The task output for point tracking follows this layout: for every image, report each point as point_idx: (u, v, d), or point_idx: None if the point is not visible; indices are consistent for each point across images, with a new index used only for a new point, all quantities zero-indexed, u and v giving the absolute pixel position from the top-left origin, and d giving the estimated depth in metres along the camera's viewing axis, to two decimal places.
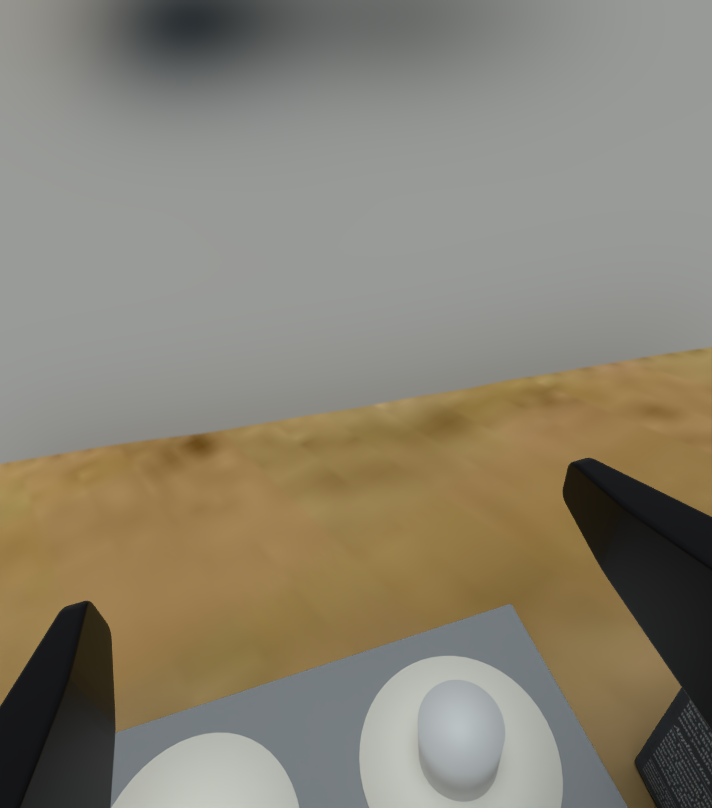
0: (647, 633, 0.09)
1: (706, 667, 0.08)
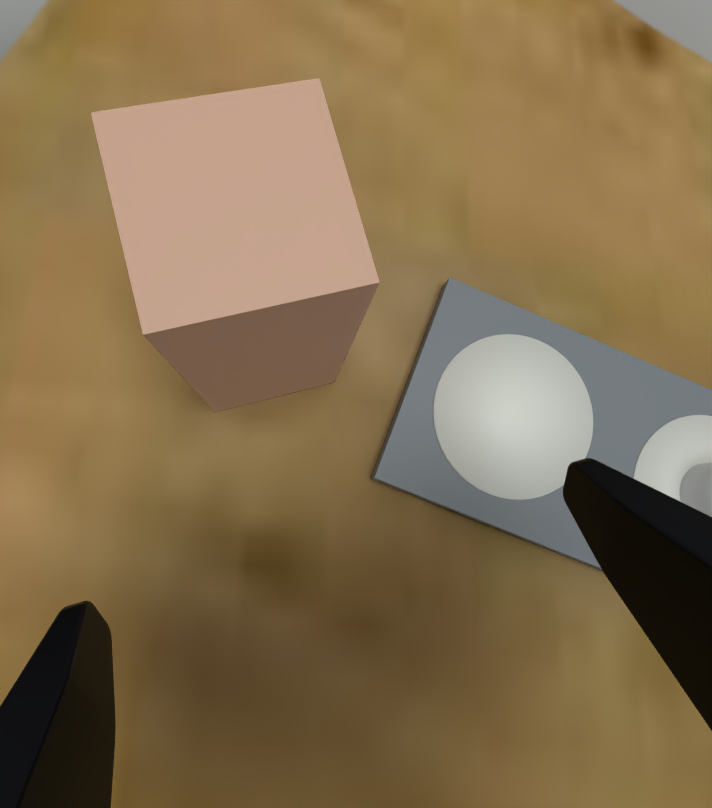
0: (647, 633, 0.09)
1: (706, 667, 0.08)
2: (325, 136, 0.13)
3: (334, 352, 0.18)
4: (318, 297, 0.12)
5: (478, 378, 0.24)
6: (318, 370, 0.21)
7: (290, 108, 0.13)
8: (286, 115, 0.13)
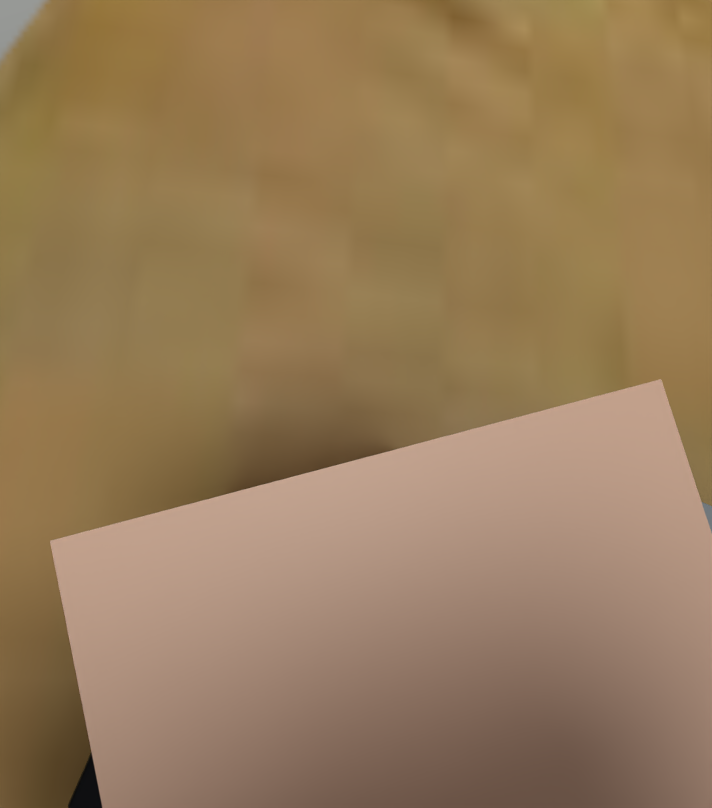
0: None
1: None
2: (690, 551, 0.05)
3: None
4: None
5: None
6: None
7: (598, 475, 0.05)
8: (590, 499, 0.05)
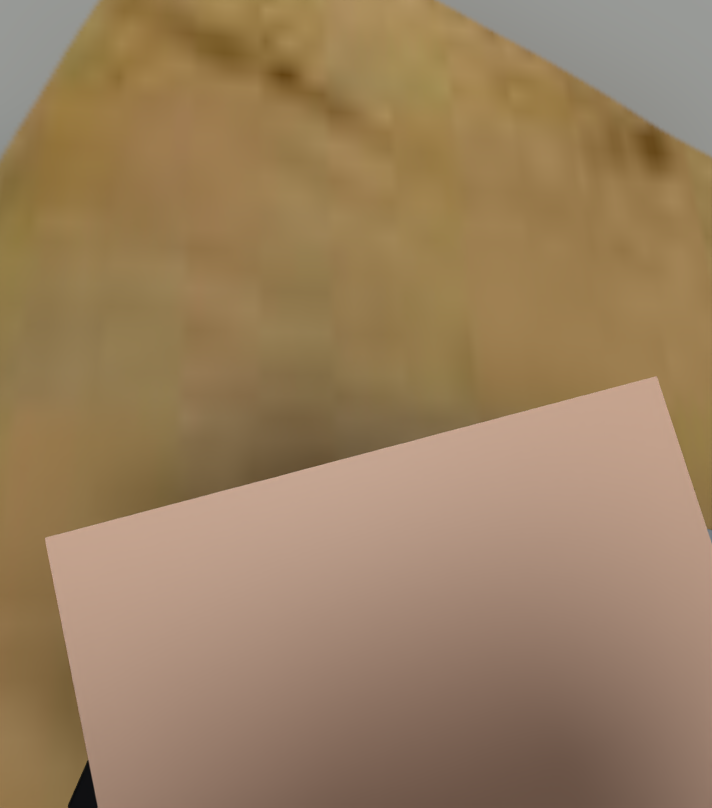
0: None
1: None
2: (685, 548, 0.05)
3: None
4: None
5: None
6: None
7: (593, 472, 0.05)
8: (584, 497, 0.05)
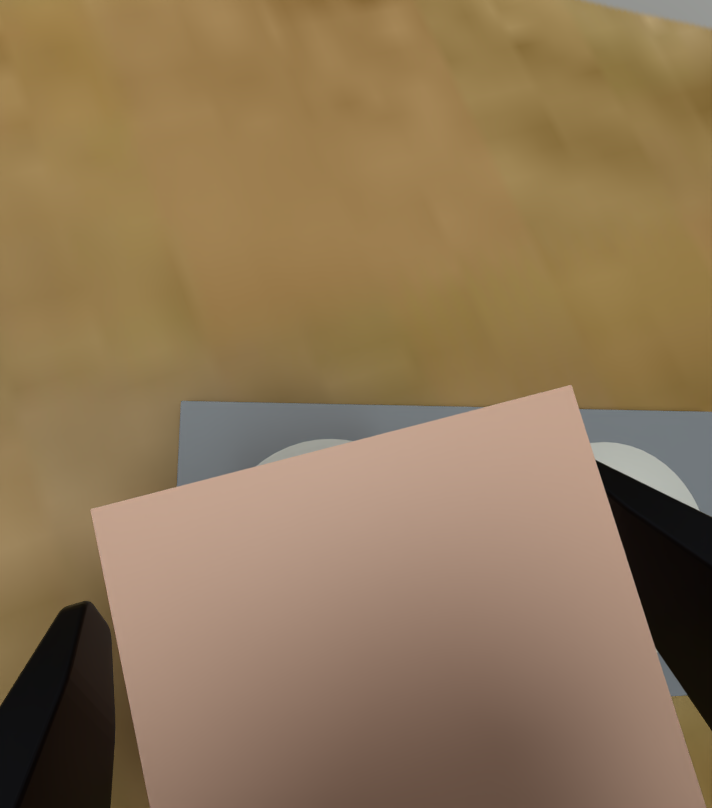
0: None
1: (706, 667, 0.08)
2: (592, 521, 0.06)
3: None
4: None
5: None
6: None
7: (518, 461, 0.06)
8: (510, 479, 0.06)
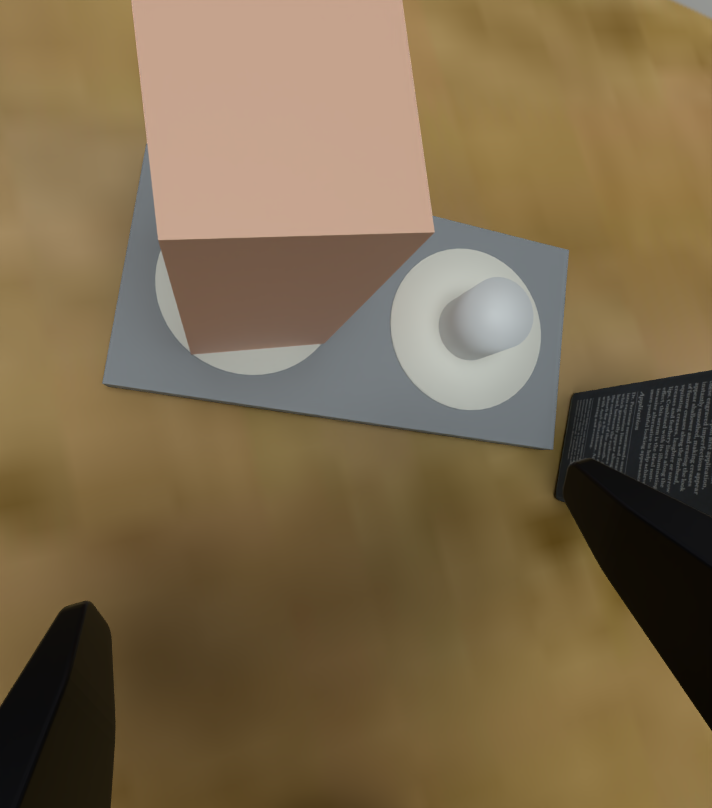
0: (647, 633, 0.09)
1: (706, 667, 0.08)
2: (398, 53, 0.11)
3: (343, 308, 0.17)
4: (366, 236, 0.11)
5: None
6: (316, 326, 0.19)
7: (363, 11, 0.11)
8: (357, 18, 0.11)
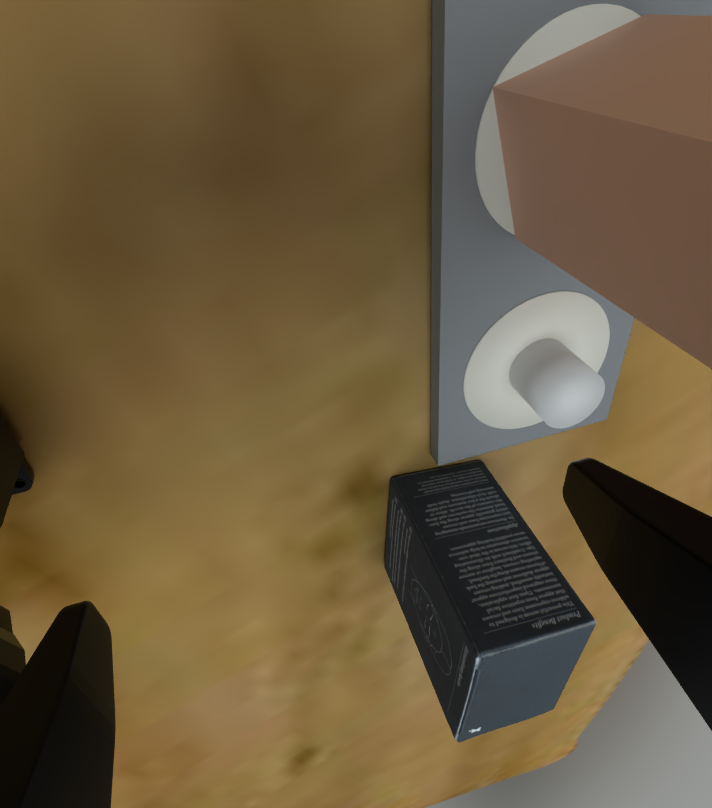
0: (647, 633, 0.09)
1: (706, 667, 0.08)
2: None
3: (613, 288, 0.16)
4: None
5: None
6: (565, 247, 0.17)
7: None
8: None
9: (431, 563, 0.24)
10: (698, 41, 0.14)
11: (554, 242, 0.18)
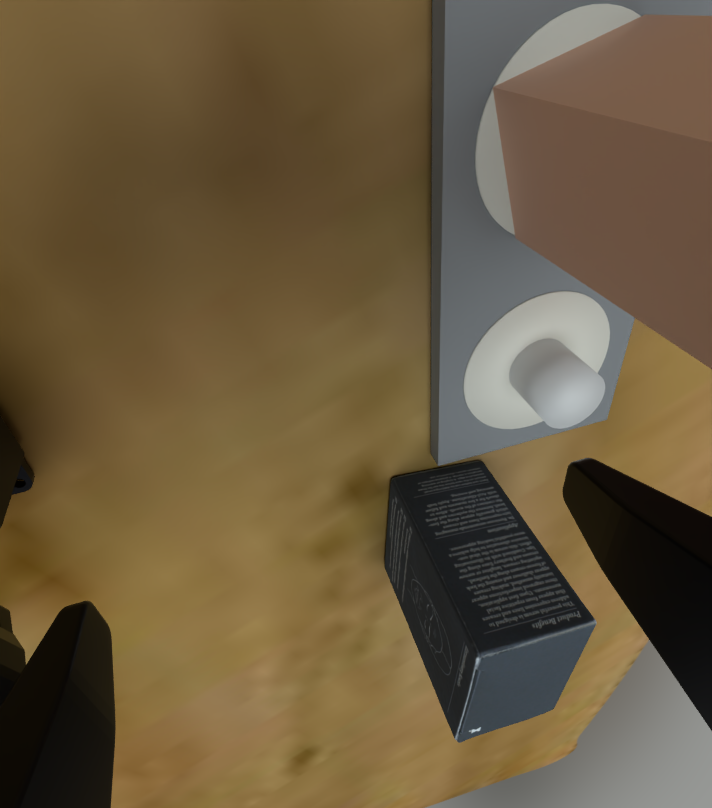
0: (647, 633, 0.09)
1: (706, 667, 0.08)
2: None
3: (613, 288, 0.16)
4: None
5: None
6: (565, 247, 0.17)
7: None
8: None
9: (431, 563, 0.24)
10: (698, 41, 0.14)
11: (554, 242, 0.18)
